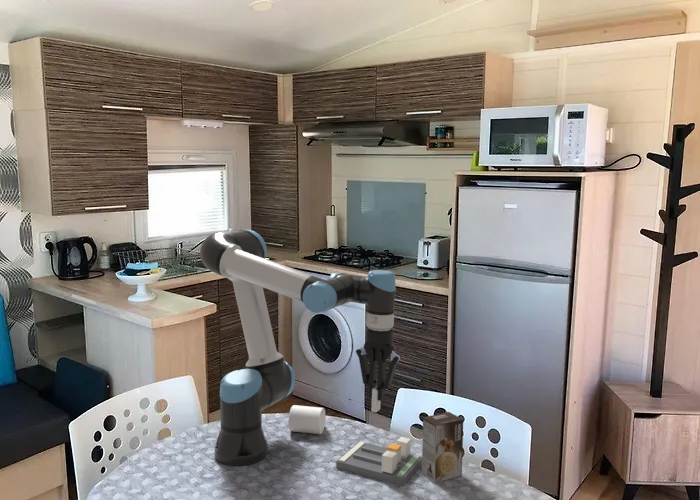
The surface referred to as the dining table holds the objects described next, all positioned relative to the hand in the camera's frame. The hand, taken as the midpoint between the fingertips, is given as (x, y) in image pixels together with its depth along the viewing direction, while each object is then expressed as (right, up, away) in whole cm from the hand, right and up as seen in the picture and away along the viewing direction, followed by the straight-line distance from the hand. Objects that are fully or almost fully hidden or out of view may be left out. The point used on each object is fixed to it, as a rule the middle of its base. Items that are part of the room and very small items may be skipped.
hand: (375, 410), depth 162 cm
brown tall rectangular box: (+18, -17, -3) cm, 25 cm away
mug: (-20, -13, +25) cm, 35 cm away
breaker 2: (+8, -13, +3) cm, 16 cm away
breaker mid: (+5, -14, -1) cm, 15 cm away
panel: (+1, -16, +1) cm, 16 cm away
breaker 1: (+3, -14, -6) cm, 16 cm away
